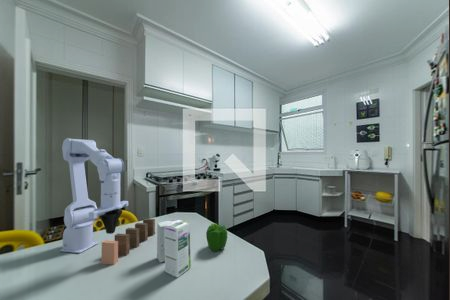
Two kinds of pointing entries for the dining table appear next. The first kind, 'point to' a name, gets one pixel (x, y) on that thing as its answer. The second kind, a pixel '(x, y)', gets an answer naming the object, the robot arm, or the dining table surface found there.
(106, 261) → the domino
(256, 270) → the dining table surface
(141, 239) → the domino
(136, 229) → the domino
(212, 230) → the bell pepper
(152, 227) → the domino
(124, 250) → the domino
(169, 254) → the syrup box
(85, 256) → the dining table surface
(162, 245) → the skincare box
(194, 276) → the dining table surface
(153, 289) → the dining table surface
